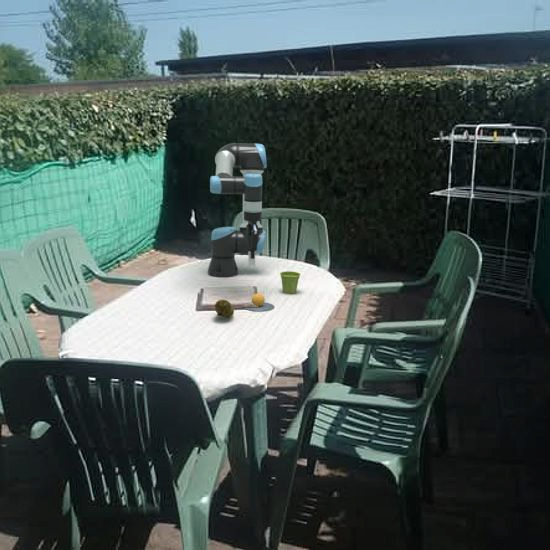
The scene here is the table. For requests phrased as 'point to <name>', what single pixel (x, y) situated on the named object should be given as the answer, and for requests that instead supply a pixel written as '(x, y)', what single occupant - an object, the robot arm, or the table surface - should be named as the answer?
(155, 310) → the table surface
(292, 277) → the plant pot
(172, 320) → the table surface
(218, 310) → the potato
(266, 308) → the disc
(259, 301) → the ball
